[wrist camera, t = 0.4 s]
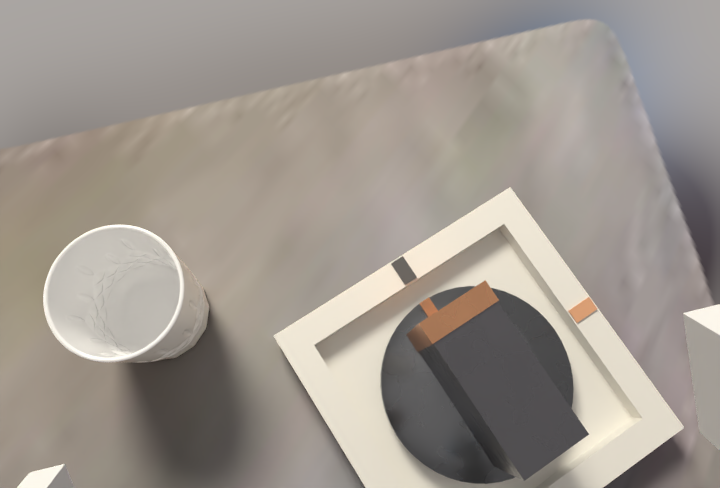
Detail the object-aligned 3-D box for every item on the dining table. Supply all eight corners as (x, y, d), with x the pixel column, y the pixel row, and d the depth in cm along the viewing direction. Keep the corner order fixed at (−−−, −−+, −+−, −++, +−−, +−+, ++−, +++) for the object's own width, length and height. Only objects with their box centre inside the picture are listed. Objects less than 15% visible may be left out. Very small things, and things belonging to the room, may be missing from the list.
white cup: (89, 348, 44) (19, 336, 35) (133, 246, 46) (77, 207, 36) (194, 383, 44) (152, 381, 34) (233, 279, 46) (204, 248, 36)
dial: (602, 410, 43) (666, 415, 35) (449, 520, 41) (476, 552, 33) (494, 256, 46) (529, 225, 37) (344, 352, 44) (345, 343, 35)
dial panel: (665, 425, 44) (685, 427, 42) (433, 595, 41) (439, 609, 39) (501, 197, 48) (510, 186, 45) (277, 338, 45) (273, 335, 42)
